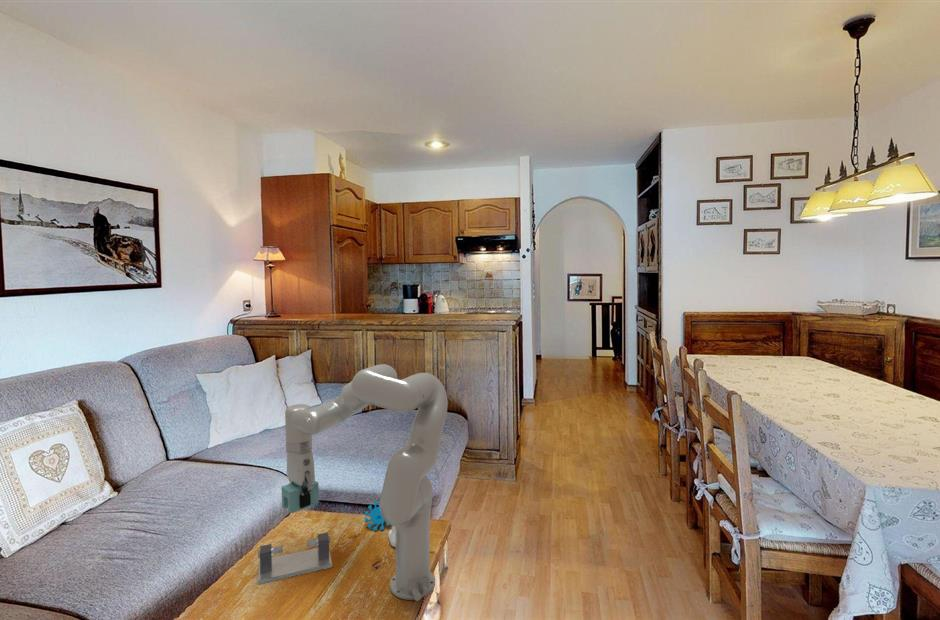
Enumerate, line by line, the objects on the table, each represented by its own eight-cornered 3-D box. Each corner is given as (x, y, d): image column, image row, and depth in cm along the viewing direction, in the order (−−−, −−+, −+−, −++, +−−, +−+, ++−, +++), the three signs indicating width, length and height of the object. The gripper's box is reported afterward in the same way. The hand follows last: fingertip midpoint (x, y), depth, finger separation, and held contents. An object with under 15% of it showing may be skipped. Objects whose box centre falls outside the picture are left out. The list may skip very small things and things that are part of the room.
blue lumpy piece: (360, 527, 152) (369, 497, 159) (362, 532, 157) (370, 503, 163) (391, 533, 152) (399, 503, 158) (393, 537, 156) (400, 508, 163)
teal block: (318, 503, 139) (318, 482, 139) (290, 513, 132) (289, 492, 132) (309, 497, 143) (309, 477, 143) (282, 507, 136) (281, 486, 136)
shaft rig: (332, 567, 133) (331, 543, 133) (258, 584, 125) (257, 559, 125) (328, 549, 142) (328, 527, 142) (259, 564, 134) (258, 541, 134)
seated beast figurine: (416, 535, 150) (416, 501, 150) (411, 551, 142) (411, 514, 141) (389, 534, 151) (389, 499, 150) (382, 549, 142) (381, 512, 142)
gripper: (324, 449, 133) (325, 508, 134) (298, 436, 145) (299, 490, 146) (299, 456, 128) (301, 517, 129) (275, 441, 140) (276, 497, 141)
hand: (300, 502), depth 138 cm, fingers closed on teal block, 5 cm apart
